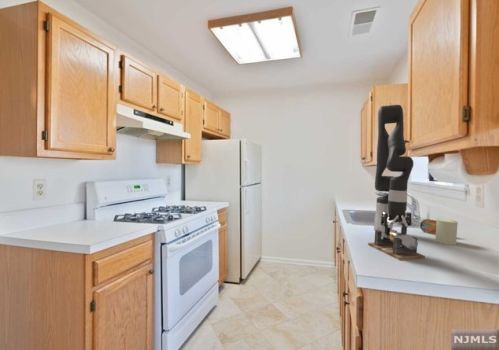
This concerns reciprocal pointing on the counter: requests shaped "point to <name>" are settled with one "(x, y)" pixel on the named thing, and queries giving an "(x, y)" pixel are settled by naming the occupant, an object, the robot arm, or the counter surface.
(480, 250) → the counter surface
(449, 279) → the counter surface
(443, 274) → the counter surface
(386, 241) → the cradle stand
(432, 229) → the tin
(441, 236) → the can
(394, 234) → the tube
